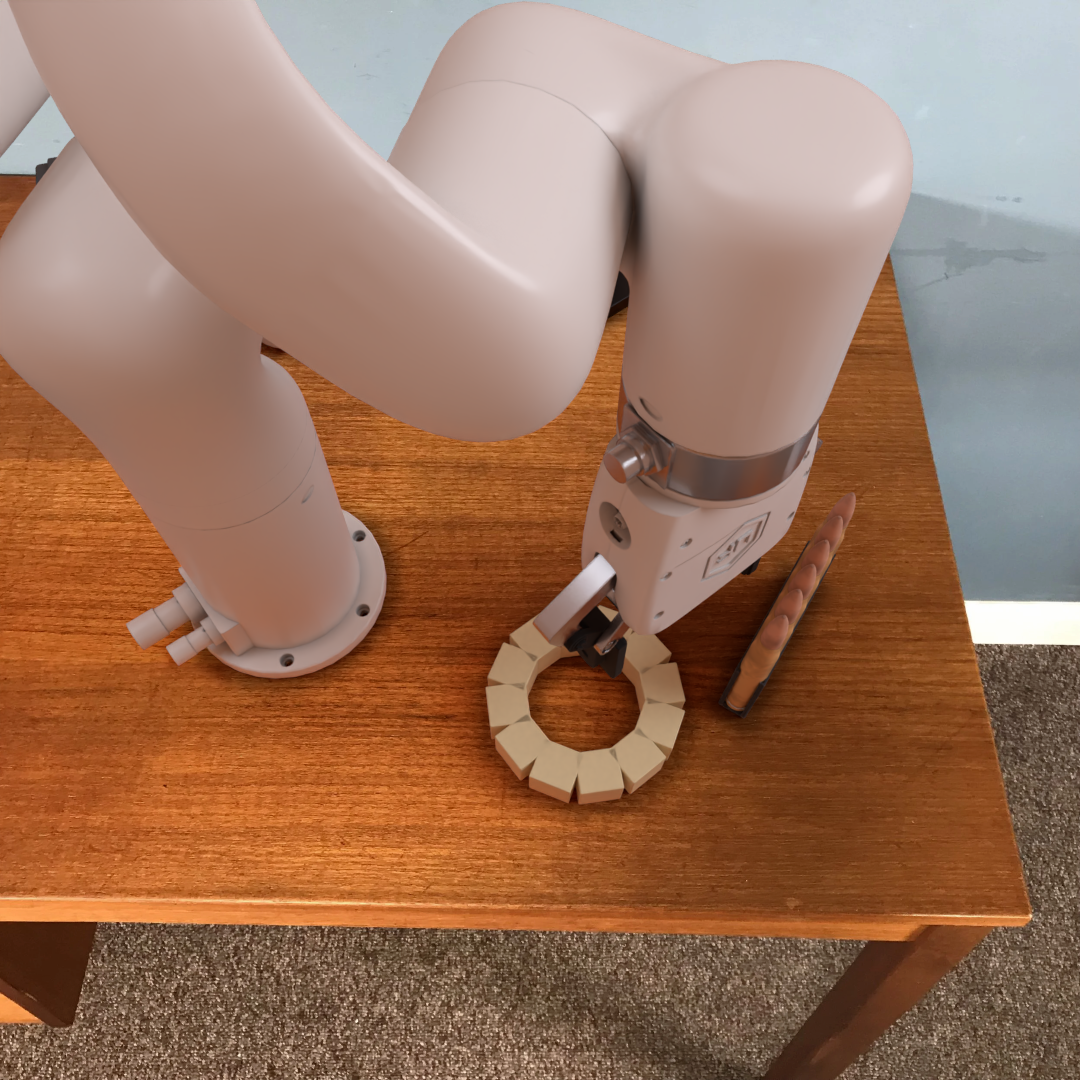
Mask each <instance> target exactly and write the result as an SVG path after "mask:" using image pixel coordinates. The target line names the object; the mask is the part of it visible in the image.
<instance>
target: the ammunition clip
mask: <svg viewBox="0 0 1080 1080" xmlns="http://www.w3.org/2000/svg"><path fill="white" fill-rule="evenodd" d="M856 501H857V497H856V494H855V492H852V491H851V492H848V493H846V494H845V495H843V496H842V497H841V498H839V499H838V501H837V502H836V503H835V504H834V505H833V507H832V508H831V510H830V512H829V513H828V514H827V515H826V517H825V518H824V520H823V521H822V522H821V523H820V524H819V525H818V526H817V528H816V529H815V531H814V533H813V535H812V536H811V538H810V539H809V540H808V541H807V542H806V543H805V546H804V547H803V549H802V551H801V553H800V554H799V556H798V558H797V560H796V561H795V563H794V565H793V567H792V568H791V570H790V572H789V573H788V576H787V578H786V579H785V581H784V582H783V584H782V586H781V588H780V589H779V591H778V593H777V595H776V597H775V598H774V600H773V602H772V603H771V605H770V607H769V609H768V611H767V613H766V614H765V616H764V618H763V620H762V621H761V623H760V625H759V627H758V628H757V630H756V631H755V634H754V635H753V637H752V639H751V641H750V642H749V645H748V646H747V648H746V650H745V651H744V653H743V655H742V657H741V659H740V660H739V662H738V664H737V666H736V668H735V669H734V671H733V673H732V675H731V677H730V679H729V680H728V683H727V684H726V685H725V689H724V690H723V692H722V694H721V695H720V698H719V700H718V703H717V704H718V705H720V706H721V707H723V708H724V709H726V710H728V711H730V712H731V713H733V714H735V715H737V716H738V717H740V718H742V719H745V718H747V716H748V714H749V713H750V711H751V710H752V708H753V706H754V704H755V703H756V701H757V700H758V698H759V696H760V695H761V693H762V692H763V689H764V688H765V687H766V685H767V683H768V681H769V679H770V677H771V675H772V673H773V672H774V670H775V668H776V667H777V665H778V663H779V662H780V659H781V657H782V655H783V653H784V652H785V650H786V649H787V646H788V645H789V643H790V641H791V639H792V637H793V635H794V633H795V631H796V629H797V628H798V626H799V624H800V622H801V621H802V619H803V617H804V615H805V613H806V611H807V609H808V608H809V606H810V604H811V602H812V601H813V599H814V597H815V595H816V593H817V590H818V589H819V587H820V586H821V583H822V582H823V580H824V578H825V577H826V574H827V573H828V571H829V569H830V567H831V565H832V563H833V561H835V557H836V556H837V554H836V553H837V551H838V550H839V548H840V546H841V545H842V543H843V540H844V538H845V533H846V530H847V528H848V526H849V523H850V521H851V520H852V518H853V515H854V512H855V508H856Z"/></svg>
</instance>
